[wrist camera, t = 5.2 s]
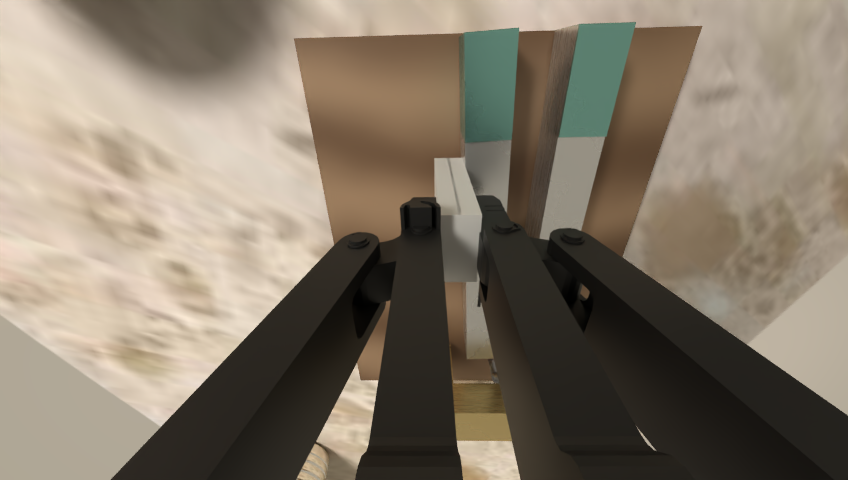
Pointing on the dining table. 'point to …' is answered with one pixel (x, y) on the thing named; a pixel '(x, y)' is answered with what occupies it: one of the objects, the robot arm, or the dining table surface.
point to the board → (440, 138)
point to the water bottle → (315, 465)
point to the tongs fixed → (574, 125)
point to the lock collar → (479, 412)
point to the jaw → (485, 142)
